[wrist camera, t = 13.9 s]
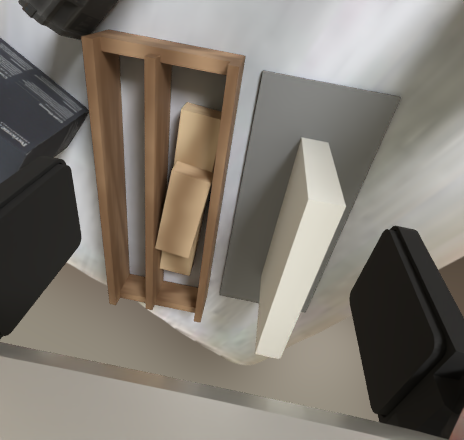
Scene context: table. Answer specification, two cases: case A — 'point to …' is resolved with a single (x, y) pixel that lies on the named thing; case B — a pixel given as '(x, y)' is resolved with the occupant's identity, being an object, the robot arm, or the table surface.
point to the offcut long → (194, 164)
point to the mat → (283, 157)
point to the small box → (32, 113)
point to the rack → (151, 157)
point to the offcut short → (183, 208)
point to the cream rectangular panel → (298, 244)
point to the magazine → (68, 14)
